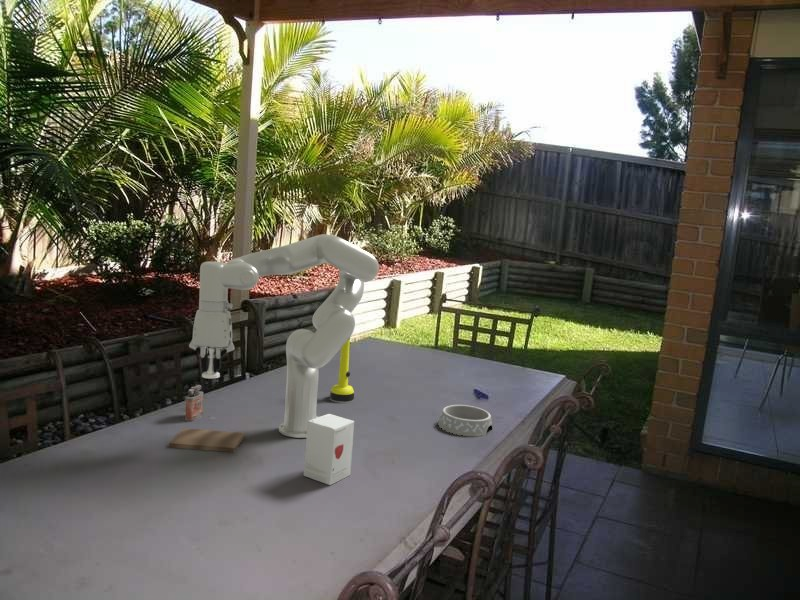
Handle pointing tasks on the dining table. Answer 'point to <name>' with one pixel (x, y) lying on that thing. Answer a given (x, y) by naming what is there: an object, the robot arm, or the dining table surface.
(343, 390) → the flashlight
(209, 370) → the chess piece
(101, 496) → the dining table surface
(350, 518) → the dining table surface
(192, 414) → the lighter
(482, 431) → the dog bowl
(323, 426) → the supplement box
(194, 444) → the walnut board
